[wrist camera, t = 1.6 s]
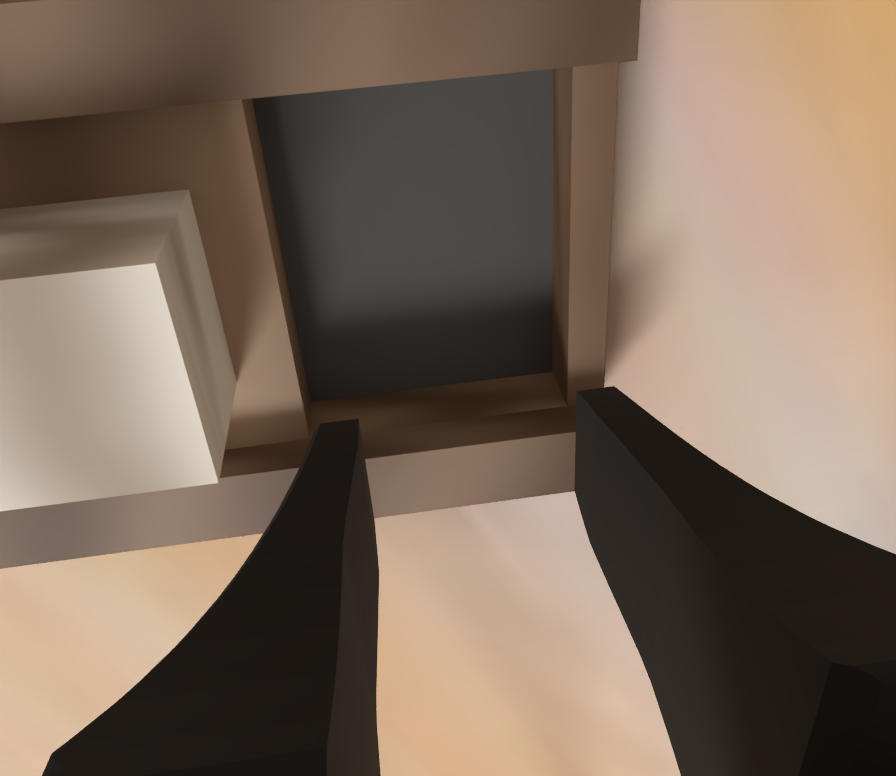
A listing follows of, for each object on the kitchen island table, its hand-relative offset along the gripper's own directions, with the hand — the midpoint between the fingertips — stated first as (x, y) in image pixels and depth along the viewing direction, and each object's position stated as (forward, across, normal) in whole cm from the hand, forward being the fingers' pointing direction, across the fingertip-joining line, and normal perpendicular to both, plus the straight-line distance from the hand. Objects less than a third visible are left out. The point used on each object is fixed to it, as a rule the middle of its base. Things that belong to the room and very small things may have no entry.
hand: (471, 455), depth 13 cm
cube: (+7, +8, 0) cm, 11 cm away
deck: (+9, +8, 0) cm, 13 cm away
